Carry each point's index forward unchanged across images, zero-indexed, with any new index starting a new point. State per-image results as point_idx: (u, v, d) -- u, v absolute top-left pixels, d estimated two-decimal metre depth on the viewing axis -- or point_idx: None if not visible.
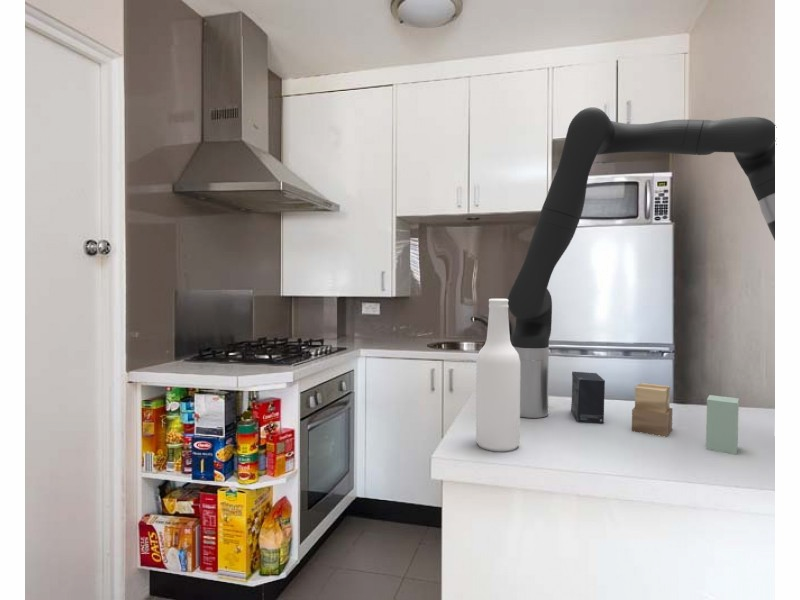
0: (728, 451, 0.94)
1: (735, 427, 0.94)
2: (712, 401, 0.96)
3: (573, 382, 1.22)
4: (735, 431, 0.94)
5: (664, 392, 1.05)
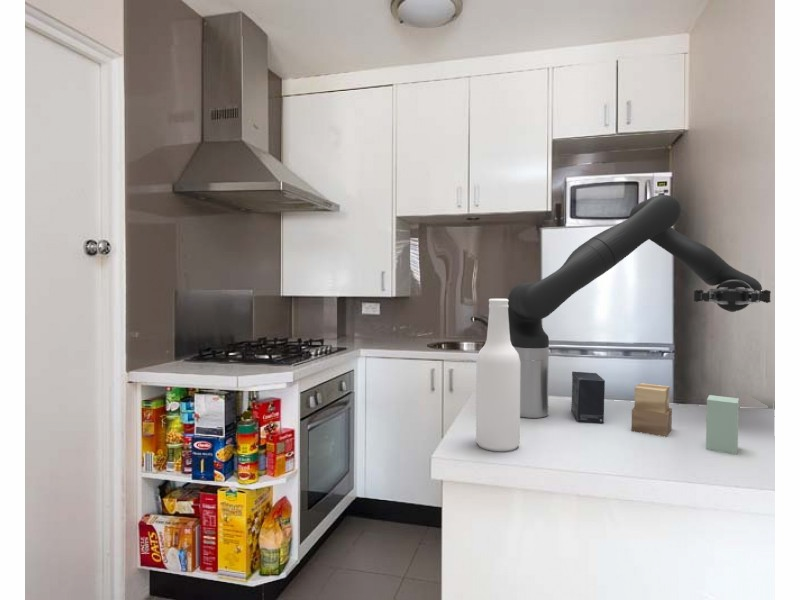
0: (728, 451, 0.94)
1: (735, 427, 0.94)
2: (712, 401, 0.96)
3: (573, 382, 1.22)
4: (735, 431, 0.94)
5: (664, 392, 1.05)
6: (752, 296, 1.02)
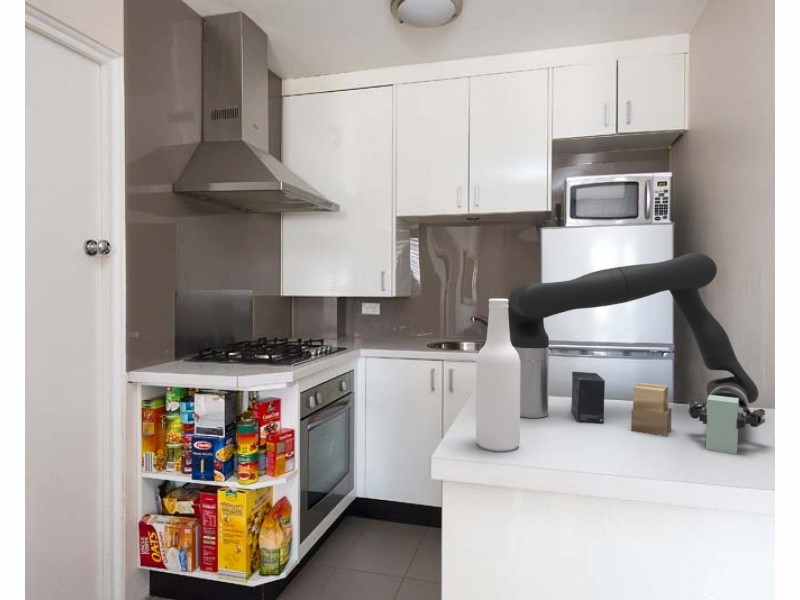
0: (728, 451, 0.94)
1: (735, 427, 0.94)
2: (712, 401, 0.96)
3: (573, 382, 1.22)
4: (735, 431, 0.94)
5: (662, 392, 1.05)
6: (738, 422, 0.93)
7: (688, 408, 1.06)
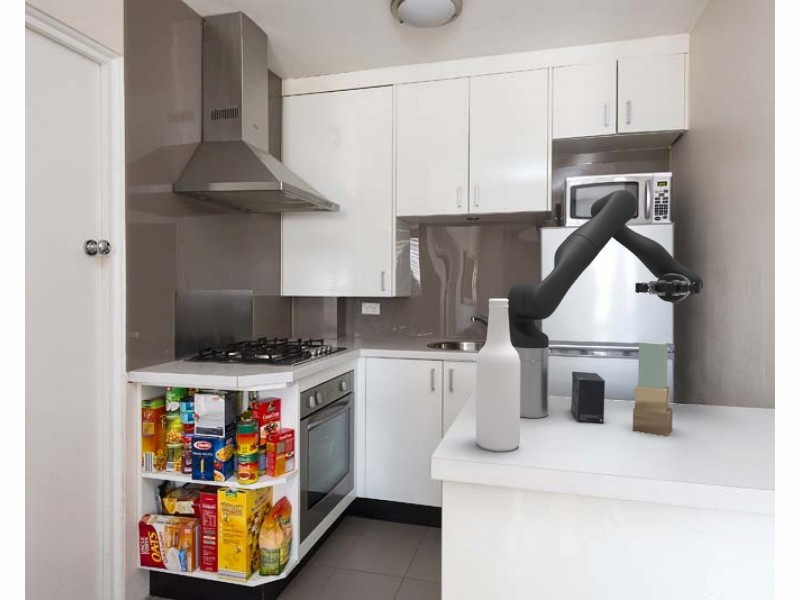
0: (656, 387, 1.06)
1: (662, 366, 1.05)
2: (643, 344, 1.07)
3: (573, 382, 1.22)
4: (662, 369, 1.05)
5: (664, 392, 1.05)
6: (682, 287, 1.14)
7: None
